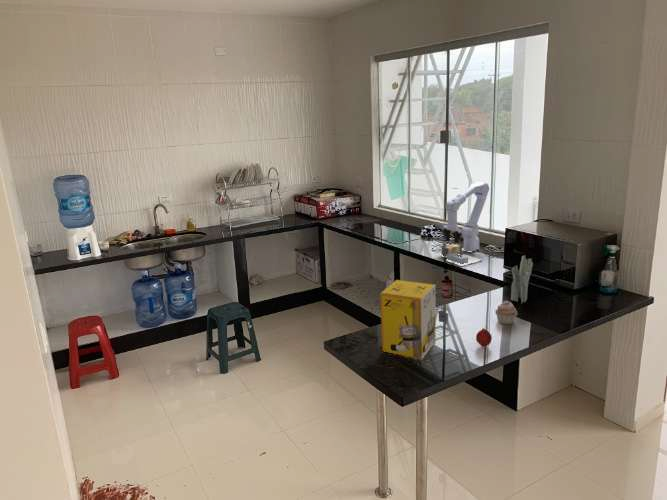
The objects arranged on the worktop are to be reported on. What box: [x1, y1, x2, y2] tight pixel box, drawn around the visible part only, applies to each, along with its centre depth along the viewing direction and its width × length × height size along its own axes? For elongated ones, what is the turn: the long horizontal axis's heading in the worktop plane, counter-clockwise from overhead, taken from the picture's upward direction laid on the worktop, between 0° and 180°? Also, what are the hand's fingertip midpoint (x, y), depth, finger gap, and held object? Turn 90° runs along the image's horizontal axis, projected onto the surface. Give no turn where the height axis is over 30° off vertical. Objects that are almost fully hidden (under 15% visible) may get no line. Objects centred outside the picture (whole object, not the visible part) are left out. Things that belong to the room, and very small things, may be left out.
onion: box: [475, 327, 493, 348], centre depth 195 cm, size 6×6×8 cm
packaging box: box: [379, 279, 437, 360], centre depth 195 cm, size 16×16×25 cm
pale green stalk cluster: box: [510, 255, 534, 304], centre depth 236 cm, size 28×7×20 cm, turn 148°
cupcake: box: [495, 300, 518, 326], centre depth 214 cm, size 9×9×10 cm
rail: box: [441, 243, 463, 256], centre depth 311 cm, size 13×4×6 cm, turn 119°
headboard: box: [446, 253, 482, 264], centre depth 299 cm, size 16×14×4 cm
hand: (451, 242), depth 310 cm, fingers open, 7 cm apart
